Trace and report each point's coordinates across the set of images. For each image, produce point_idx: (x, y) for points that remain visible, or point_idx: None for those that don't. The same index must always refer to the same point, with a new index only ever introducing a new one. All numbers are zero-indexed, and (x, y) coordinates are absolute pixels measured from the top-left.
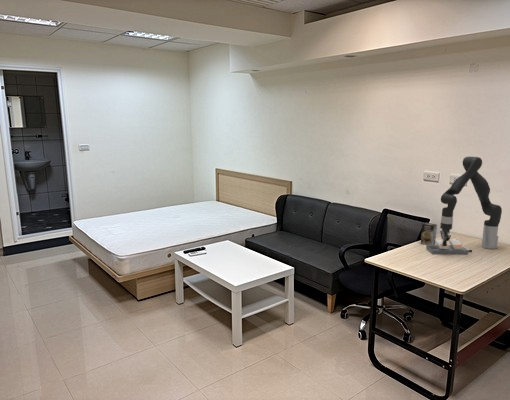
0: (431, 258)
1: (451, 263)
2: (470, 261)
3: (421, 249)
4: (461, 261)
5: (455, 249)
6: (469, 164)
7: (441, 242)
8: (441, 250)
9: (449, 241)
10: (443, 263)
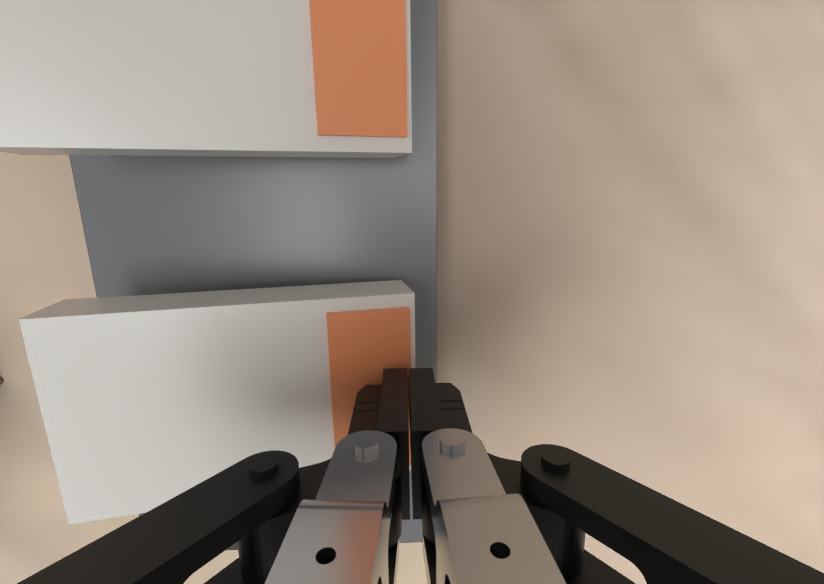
0: (599, 548)
1: (808, 372)
2: (780, 37)
3: None
4: (757, 194)
5: None
6: None
7: (216, 411)
8: None
9: (48, 152)
10: (790, 469)
